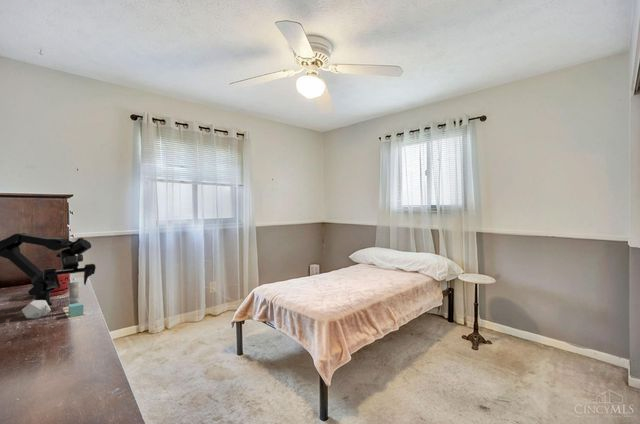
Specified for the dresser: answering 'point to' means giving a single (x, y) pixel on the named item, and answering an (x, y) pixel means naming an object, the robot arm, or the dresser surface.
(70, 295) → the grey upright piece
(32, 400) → the dresser surface
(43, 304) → the die
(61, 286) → the plant pot
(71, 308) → the cube
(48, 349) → the dresser surface
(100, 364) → the dresser surface
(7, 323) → the dresser surface
